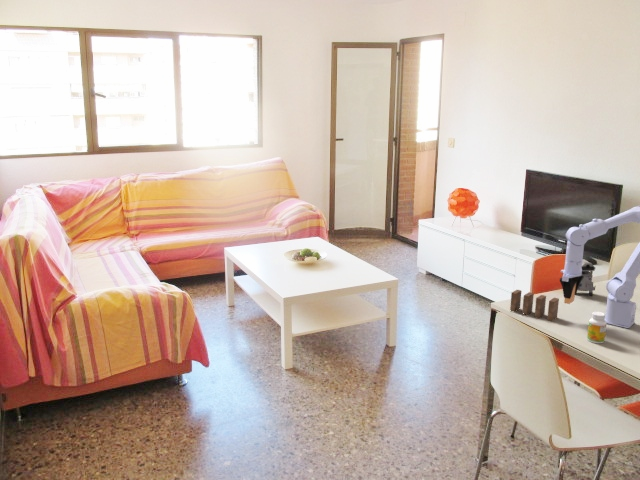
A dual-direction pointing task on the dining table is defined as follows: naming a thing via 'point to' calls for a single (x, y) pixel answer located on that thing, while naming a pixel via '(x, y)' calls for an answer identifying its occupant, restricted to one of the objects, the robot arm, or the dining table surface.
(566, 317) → the dining table surface
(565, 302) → the orange tile
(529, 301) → the tile
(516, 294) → the tile
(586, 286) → the figurine
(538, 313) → the tile
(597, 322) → the supplement bottle
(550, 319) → the tile
